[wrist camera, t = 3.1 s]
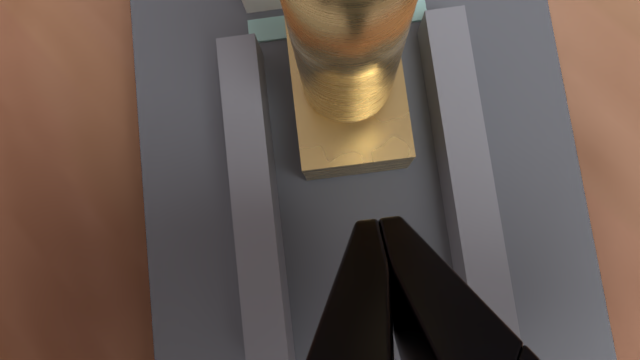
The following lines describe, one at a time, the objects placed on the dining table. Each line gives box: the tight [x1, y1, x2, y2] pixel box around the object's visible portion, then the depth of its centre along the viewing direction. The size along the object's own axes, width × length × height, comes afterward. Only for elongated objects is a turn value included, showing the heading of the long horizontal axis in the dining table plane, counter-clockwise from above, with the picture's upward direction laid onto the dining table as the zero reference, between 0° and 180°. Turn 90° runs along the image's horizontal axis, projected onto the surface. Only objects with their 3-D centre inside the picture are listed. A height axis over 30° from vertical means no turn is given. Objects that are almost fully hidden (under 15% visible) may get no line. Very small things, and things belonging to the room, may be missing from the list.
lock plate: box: [130, 0, 617, 360], centre depth 17 cm, size 19×14×4 cm
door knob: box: [280, 0, 418, 180], centre depth 10 cm, size 5×3×12 cm, turn 7°
